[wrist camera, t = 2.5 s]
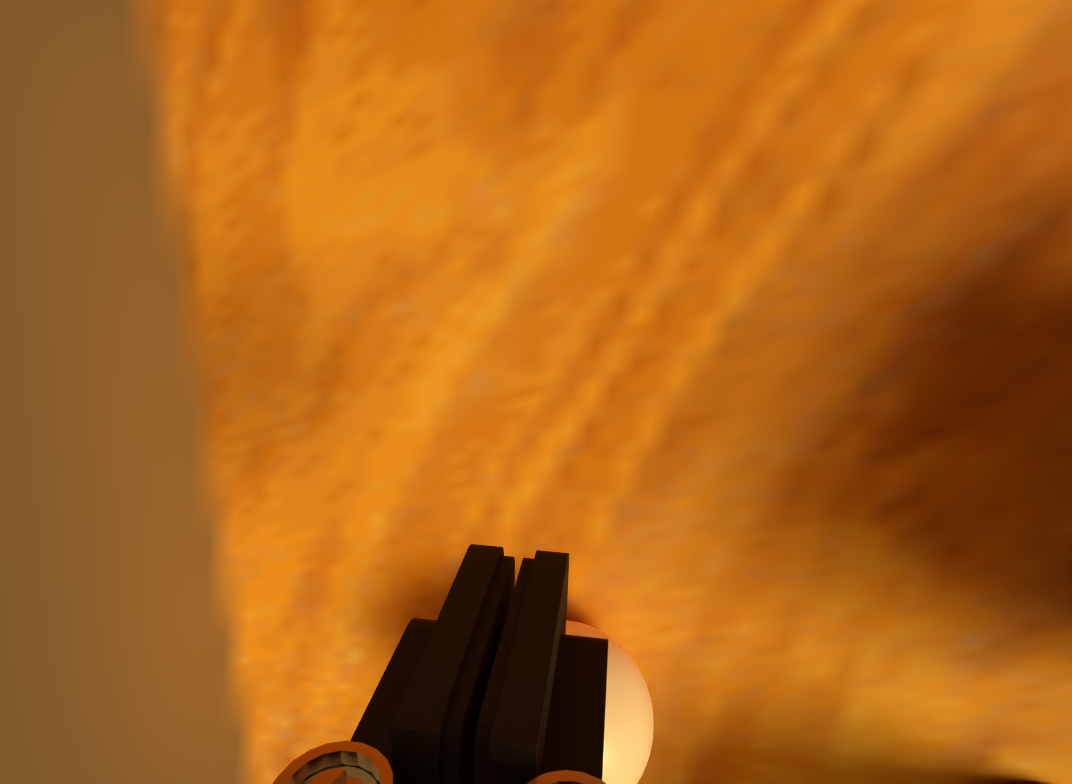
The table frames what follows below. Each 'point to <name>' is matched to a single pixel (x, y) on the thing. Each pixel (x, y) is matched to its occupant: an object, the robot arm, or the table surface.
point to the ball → (622, 712)
